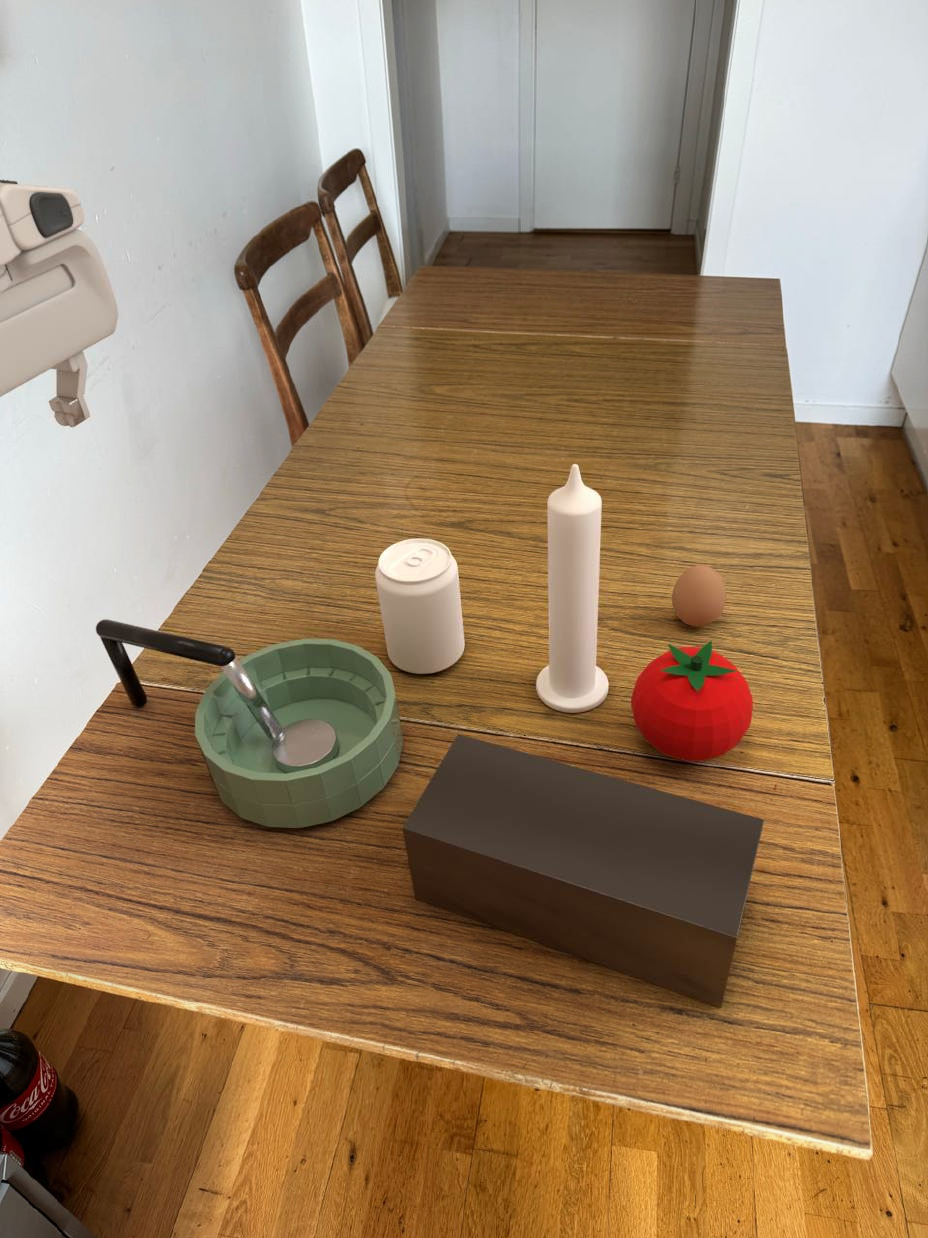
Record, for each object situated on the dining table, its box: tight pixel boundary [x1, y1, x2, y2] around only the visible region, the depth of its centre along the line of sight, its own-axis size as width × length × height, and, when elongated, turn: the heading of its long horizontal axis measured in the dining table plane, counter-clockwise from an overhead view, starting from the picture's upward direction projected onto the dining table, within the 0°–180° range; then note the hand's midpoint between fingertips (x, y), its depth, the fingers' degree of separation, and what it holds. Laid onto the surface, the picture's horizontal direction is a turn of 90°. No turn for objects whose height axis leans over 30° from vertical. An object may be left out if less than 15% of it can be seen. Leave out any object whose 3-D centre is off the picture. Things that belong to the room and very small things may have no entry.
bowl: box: [194, 638, 404, 829], centre depth 81 cm, size 18×18×7 cm
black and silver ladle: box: [95, 618, 339, 773], centre depth 83 cm, size 24×6×11 cm, turn 66°
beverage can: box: [374, 537, 466, 675], centre depth 90 cm, size 8×8×12 cm
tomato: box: [630, 640, 754, 762], centre depth 78 cm, size 10×10×10 cm
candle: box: [535, 463, 610, 714], centre depth 80 cm, size 7×7×25 cm
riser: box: [401, 733, 765, 1009], centre depth 67 cm, size 10×24×9 cm, turn 66°
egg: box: [671, 564, 727, 628], centre depth 92 cm, size 5×5×7 cm
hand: (23, 454), depth 58 cm, fingers open, 8 cm apart
